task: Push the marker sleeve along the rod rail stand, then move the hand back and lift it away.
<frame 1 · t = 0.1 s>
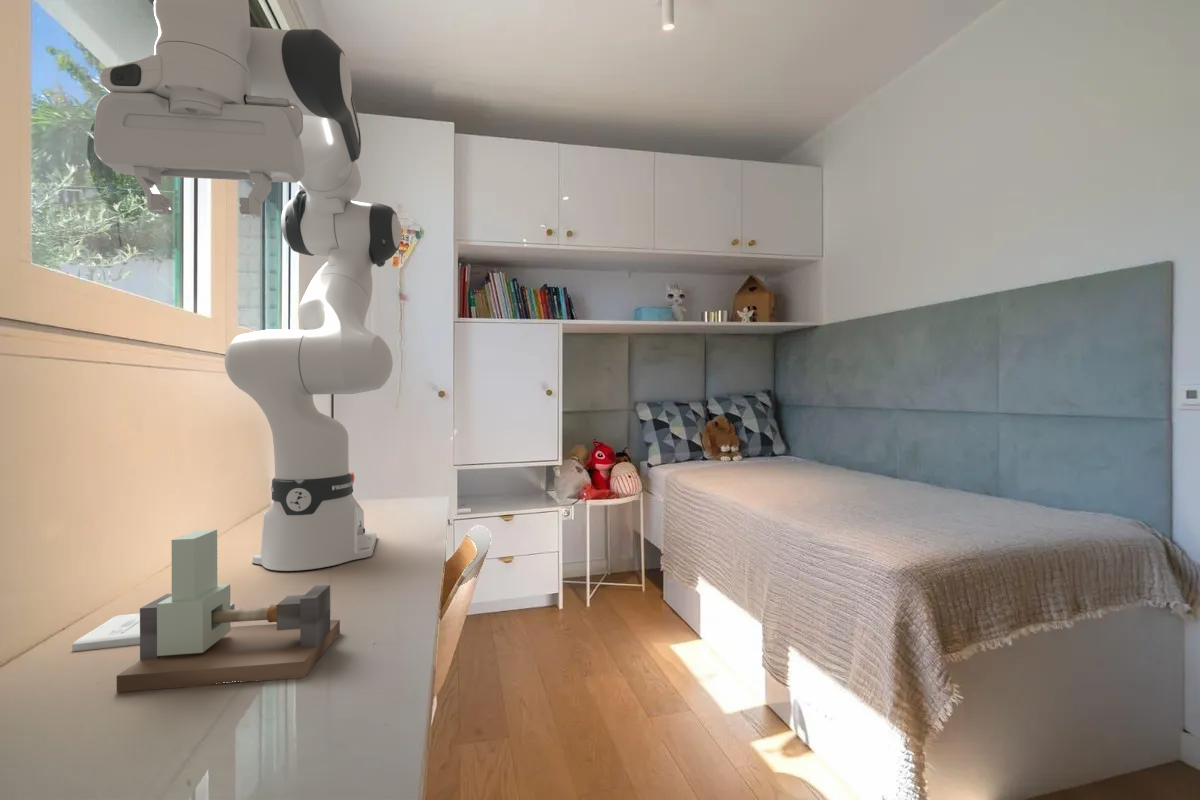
hand: (205, 214, 60), 48 cm above the table, fingers open, 8 cm apart
marker sleeve: (195, 588, 54), point 8 cm above the table, slide at 0.0 cm
rod rail stand: (240, 659, 55), on the table
external hard drive: (160, 635, 62), on the table
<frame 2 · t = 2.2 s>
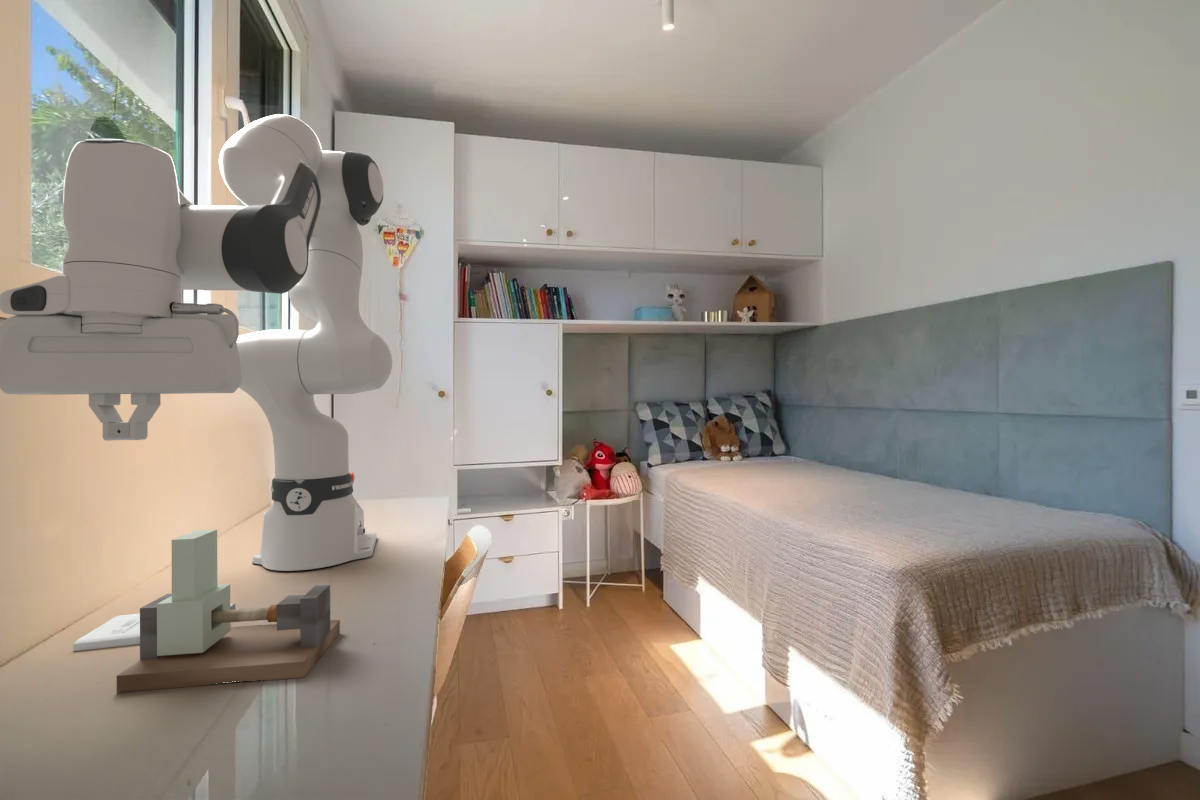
hand: (125, 440, 53), 23 cm above the table, fingers closed
nothing on the table moved.
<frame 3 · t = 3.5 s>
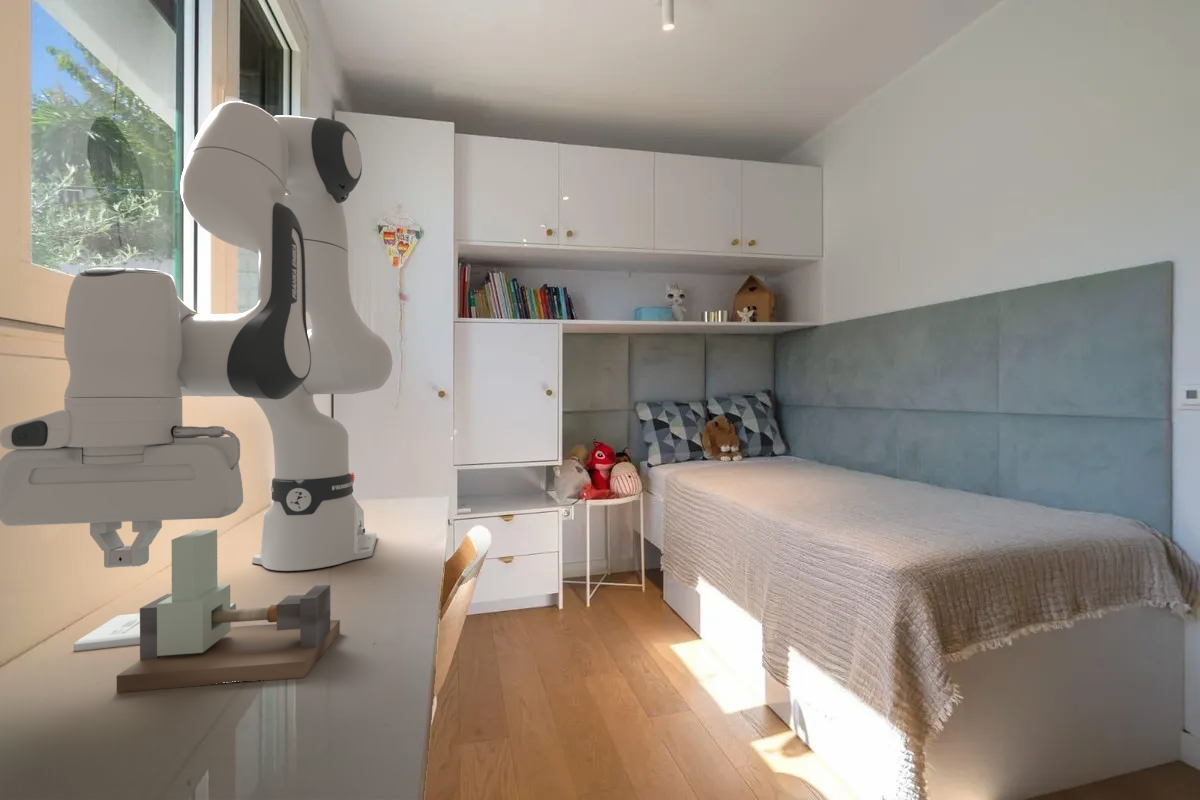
hand: (126, 565, 53), 10 cm above the table, fingers closed
nothing on the table moved.
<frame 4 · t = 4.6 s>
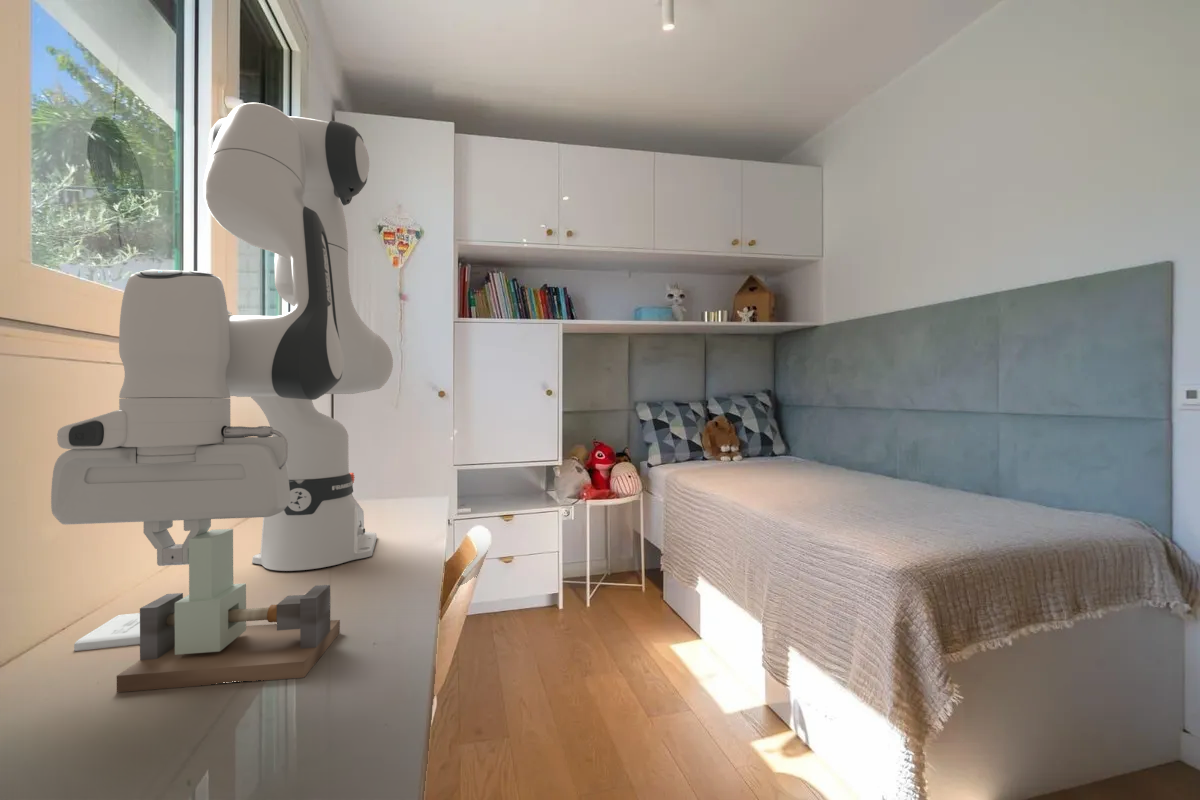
hand: (178, 563, 54), 10 cm above the table, fingers closed
marker sleeve: (212, 587, 54), point 8 cm above the table, slide at 1.6 cm, touching gripper
everything else where it was.
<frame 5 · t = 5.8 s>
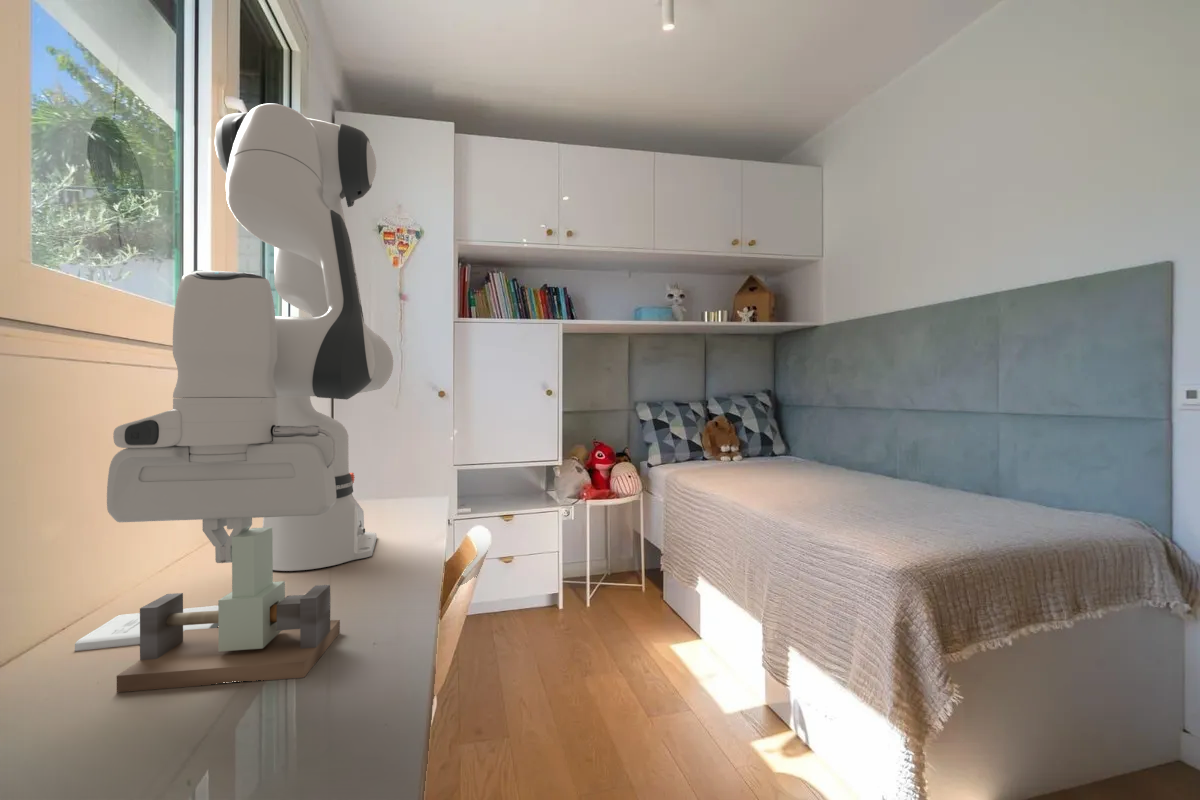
hand: (228, 561, 54), 10 cm above the table, fingers closed
marker sleeve: (253, 585, 55), point 8 cm above the table, slide at 5.4 cm, touching gripper
everything else where it was.
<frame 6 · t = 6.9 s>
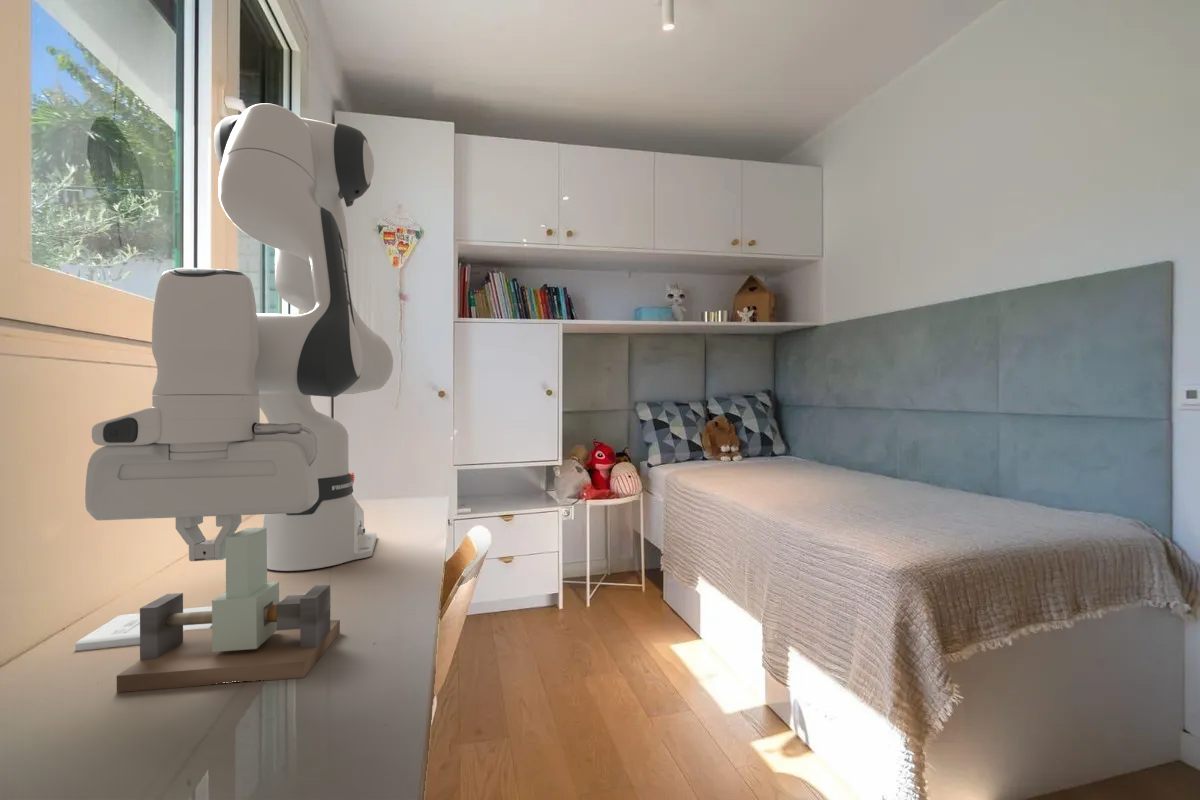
hand: (209, 559, 54), 10 cm above the table, fingers closed
marker sleeve: (247, 585, 55), point 8 cm above the table, slide at 4.9 cm
everything else where it was.
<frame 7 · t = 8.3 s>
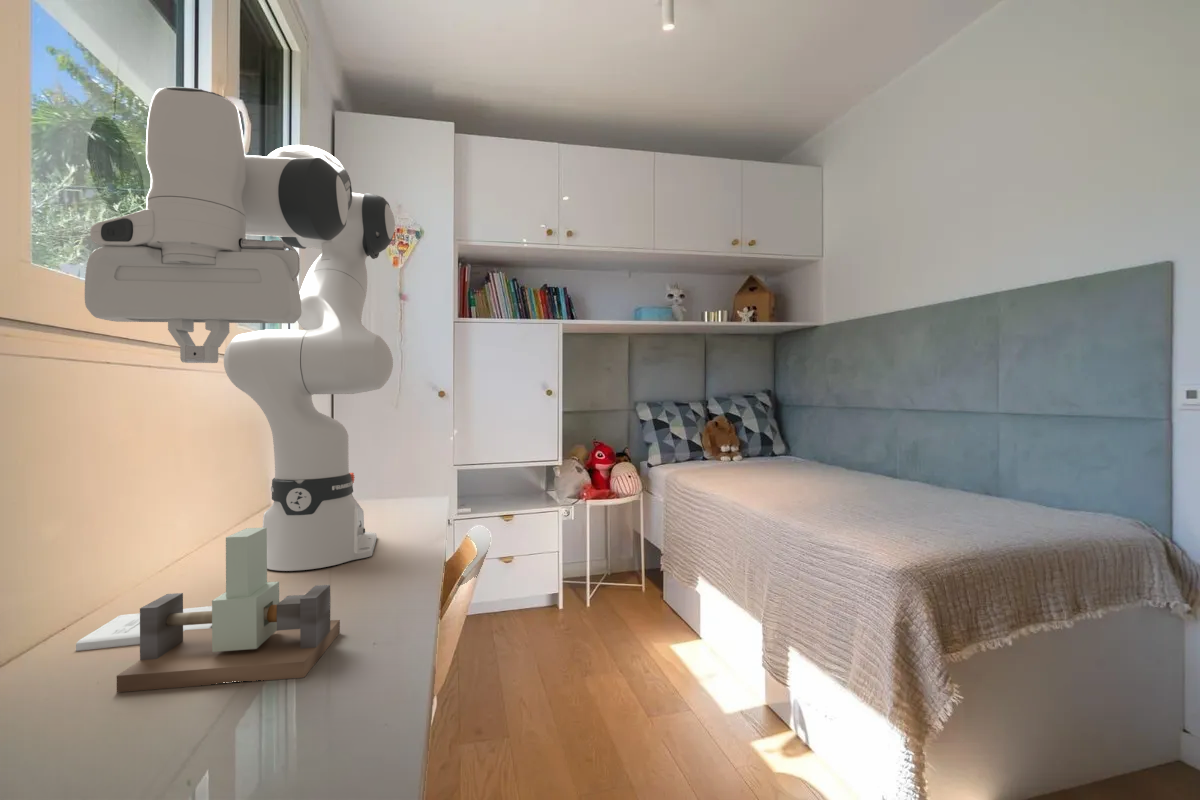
hand: (199, 362, 59), 31 cm above the table, fingers closed
nothing on the table moved.
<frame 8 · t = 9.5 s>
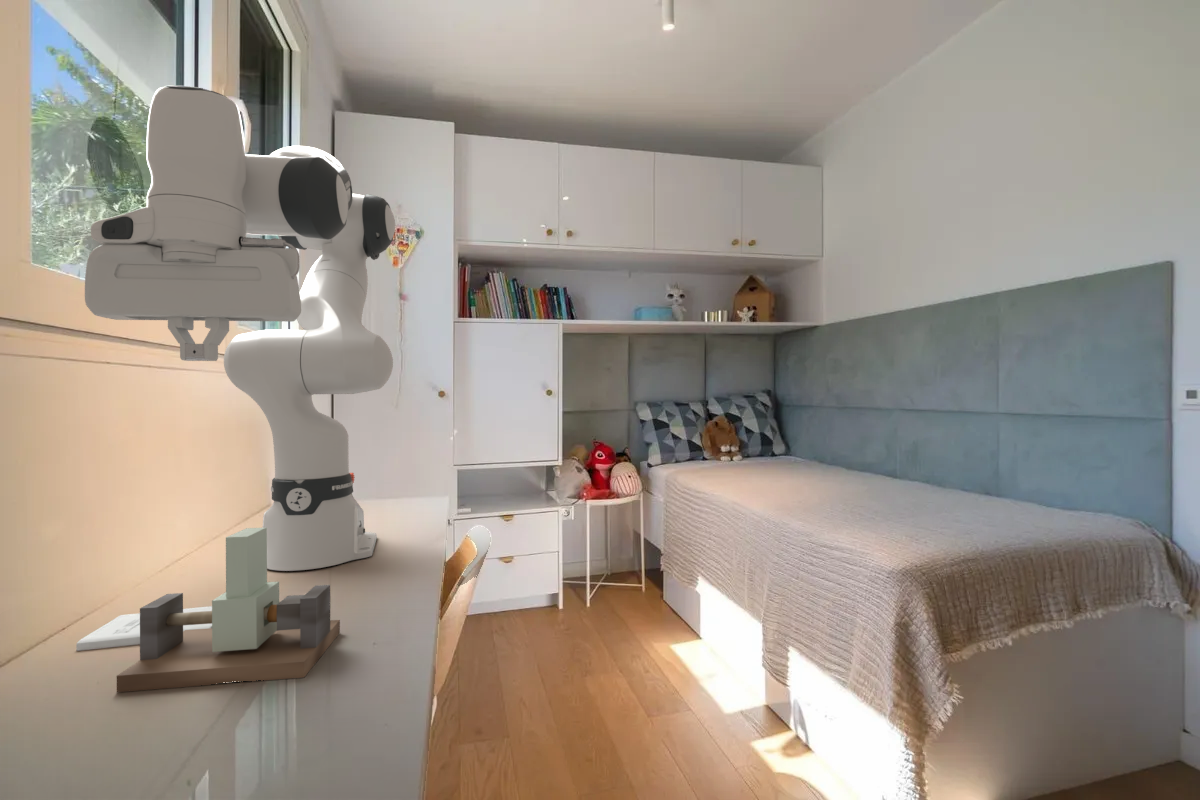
hand: (199, 360, 59), 31 cm above the table, fingers closed
nothing on the table moved.
at the end: marker sleeve slide at 4.9 cm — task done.
